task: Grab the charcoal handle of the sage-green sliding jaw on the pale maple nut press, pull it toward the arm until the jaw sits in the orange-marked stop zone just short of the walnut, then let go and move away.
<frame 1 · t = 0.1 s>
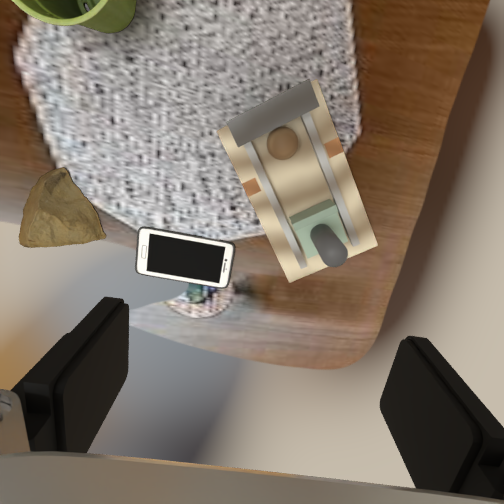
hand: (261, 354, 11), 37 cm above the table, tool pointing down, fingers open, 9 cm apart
cell phone: (185, 256, 50), on the table
rock: (78, 203, 47), on the table
press frame: (300, 189, 46), on the table
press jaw: (324, 237, 41), point 7 cm above the table, slide at 0.0 cm
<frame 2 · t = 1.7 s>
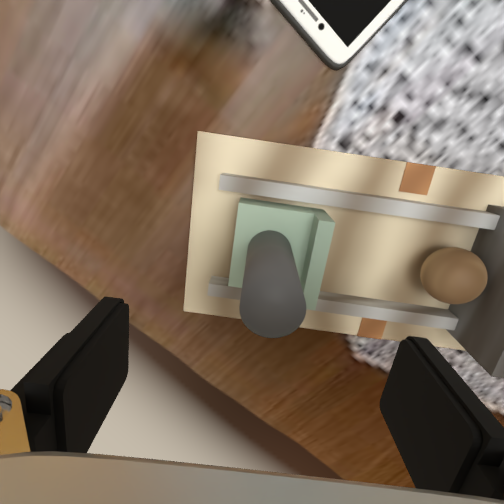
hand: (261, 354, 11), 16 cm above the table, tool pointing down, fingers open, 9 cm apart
press frame: (342, 246, 26), on the table
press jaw: (278, 268, 19), point 7 cm above the table, slide at 0.0 cm
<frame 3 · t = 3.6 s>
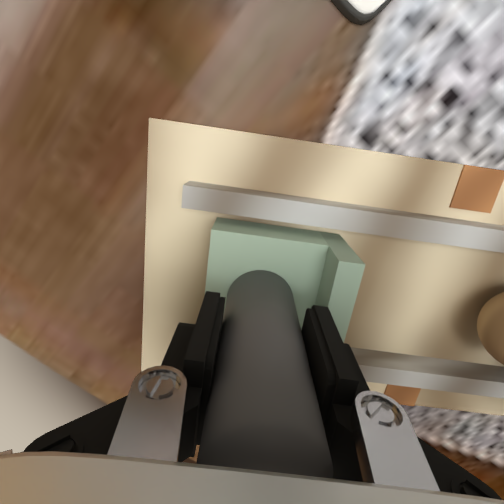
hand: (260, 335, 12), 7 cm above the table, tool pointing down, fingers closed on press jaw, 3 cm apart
press frame: (362, 280, 19), on the table
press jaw: (274, 340, 12), point 7 cm above the table, slide at 0.0 cm, touching gripper
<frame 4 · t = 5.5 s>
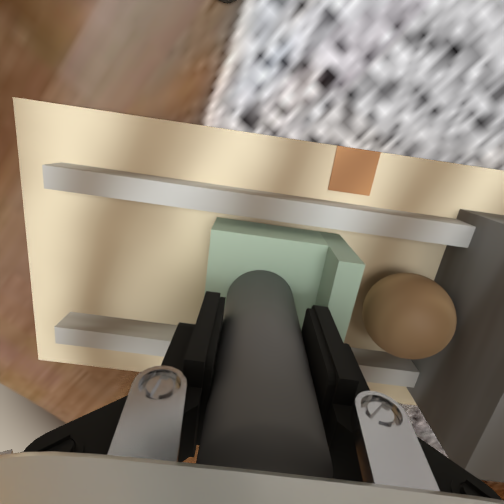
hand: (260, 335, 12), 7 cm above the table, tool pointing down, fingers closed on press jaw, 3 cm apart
press frame: (259, 267, 18), on the table
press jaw: (274, 340, 12), point 7 cm above the table, slide at 6.0 cm, touching gripper
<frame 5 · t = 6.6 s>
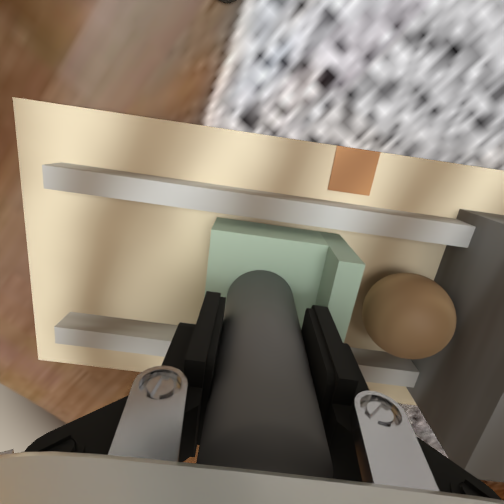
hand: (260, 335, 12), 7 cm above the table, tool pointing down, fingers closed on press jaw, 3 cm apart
press frame: (259, 267, 18), on the table
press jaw: (274, 340, 12), point 7 cm above the table, slide at 6.0 cm, touching gripper
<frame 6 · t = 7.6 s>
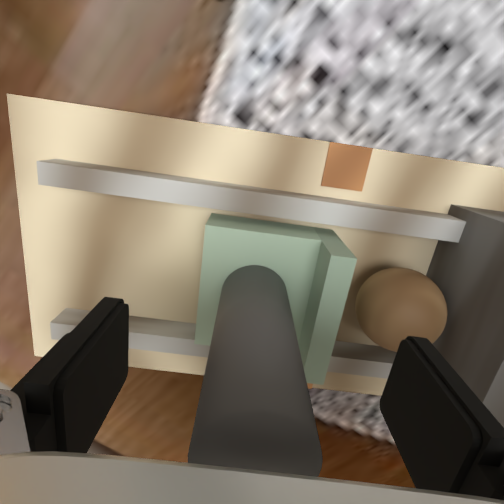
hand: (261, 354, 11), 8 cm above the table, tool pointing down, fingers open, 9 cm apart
press frame: (254, 262, 18), on the table
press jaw: (267, 333, 12), point 7 cm above the table, slide at 6.0 cm
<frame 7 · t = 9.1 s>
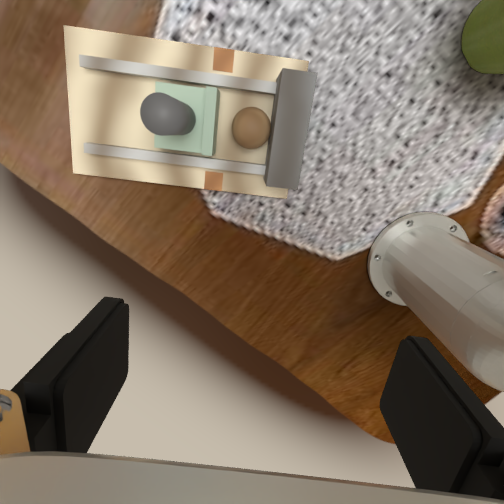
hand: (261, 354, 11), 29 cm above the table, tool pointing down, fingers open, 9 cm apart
press frame: (187, 120, 36), on the table
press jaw: (179, 118, 29), point 7 cm above the table, slide at 6.0 cm
plant pot: (494, 36, 33), on the table
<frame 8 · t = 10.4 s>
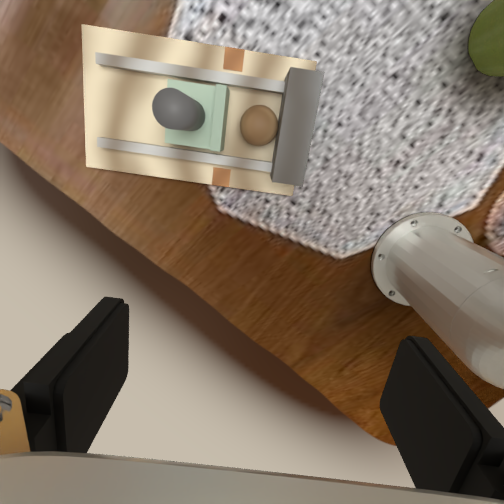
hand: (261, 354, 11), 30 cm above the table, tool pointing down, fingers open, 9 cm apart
press frame: (197, 117, 37), on the table
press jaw: (190, 114, 30), point 7 cm above the table, slide at 6.0 cm
plant pot: (501, 39, 34), on the table
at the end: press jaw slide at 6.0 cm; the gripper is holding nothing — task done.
